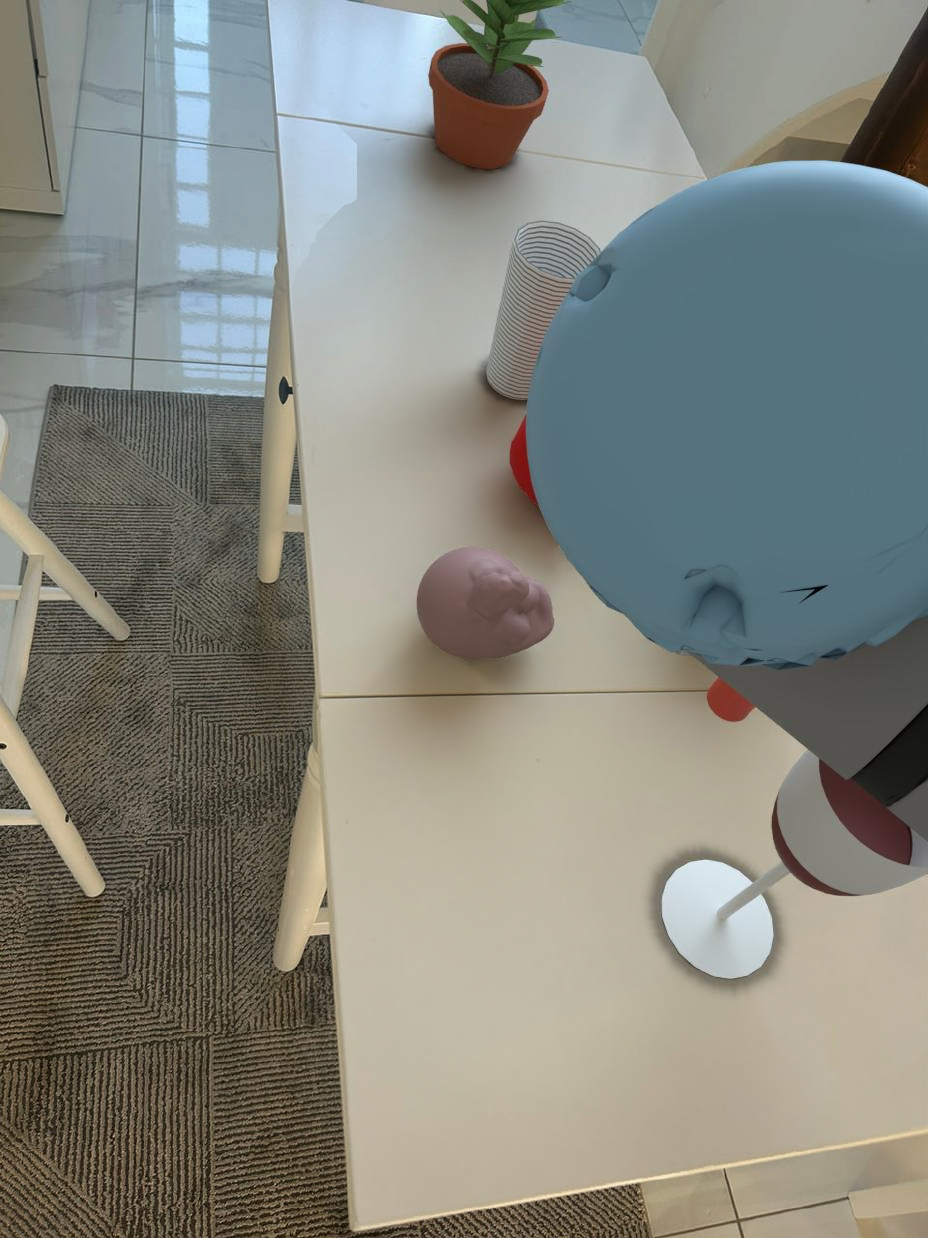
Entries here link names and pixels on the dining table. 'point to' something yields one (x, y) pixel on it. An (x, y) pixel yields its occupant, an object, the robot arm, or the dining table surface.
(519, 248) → the cup
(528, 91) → the potted plant
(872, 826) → the wineglass
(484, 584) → the figurine
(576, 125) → the dining table surface
